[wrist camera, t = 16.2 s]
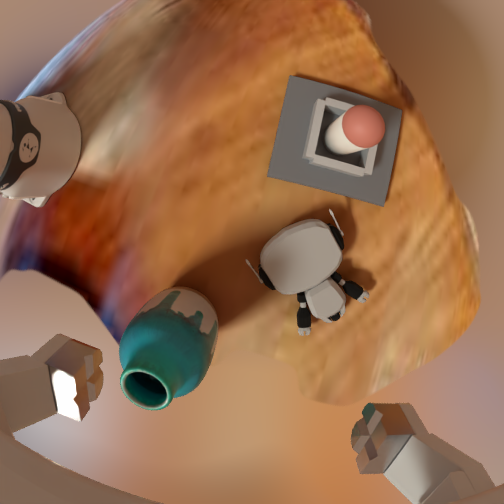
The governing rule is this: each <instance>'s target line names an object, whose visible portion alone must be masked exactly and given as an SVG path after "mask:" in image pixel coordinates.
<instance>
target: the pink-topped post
mask: <svg viewBox="0 0 504 504" xmlns="http://www.w3.org/2000/svg"><path fill="white" fill-rule="evenodd" d="M384 133H385V123H384V120H383V118H382V116H381V114H380V113H379V112H378V111H377V110H376V109H374V108H372V107H370V106H367V105H356V106H353V107H351V108H350V109H348V110H347V111H346V112H345V113H343V114H342V115H341V116H340V117H339V118H337V119H336V120H335V121H334V122H332V123H331V124H330V125H329V126H328V127H327V128H326V129H325V130H324V133H323V143H324V146H325V148H326V149H327V150H328V151H329V152H330V153H332V154H334V155H337V156H344V155H347V154H350V153H354V152H357V151H360V150H364V149H367V148H370V147H373V146H375V145H377V144H378V143H379V142H380V141H381V140H382V138H383V136H384Z"/></svg>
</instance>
